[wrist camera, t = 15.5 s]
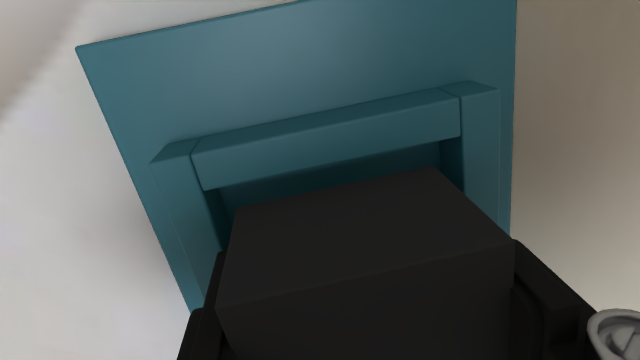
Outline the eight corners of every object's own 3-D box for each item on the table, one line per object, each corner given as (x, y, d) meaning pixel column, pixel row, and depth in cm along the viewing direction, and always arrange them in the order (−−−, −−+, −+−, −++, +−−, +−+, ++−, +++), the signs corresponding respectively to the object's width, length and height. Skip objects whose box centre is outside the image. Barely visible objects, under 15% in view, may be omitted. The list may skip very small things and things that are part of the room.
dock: (497, -39, 10) (563, -58, 8) (492, 413, 18) (524, 471, 15) (91, 44, 10) (33, 51, 7) (267, 464, 17) (265, 531, 15)
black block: (433, 164, 9) (516, 240, 6) (443, 314, 11) (509, 431, 8) (235, 206, 9) (212, 307, 6) (282, 350, 11) (283, 483, 8)
